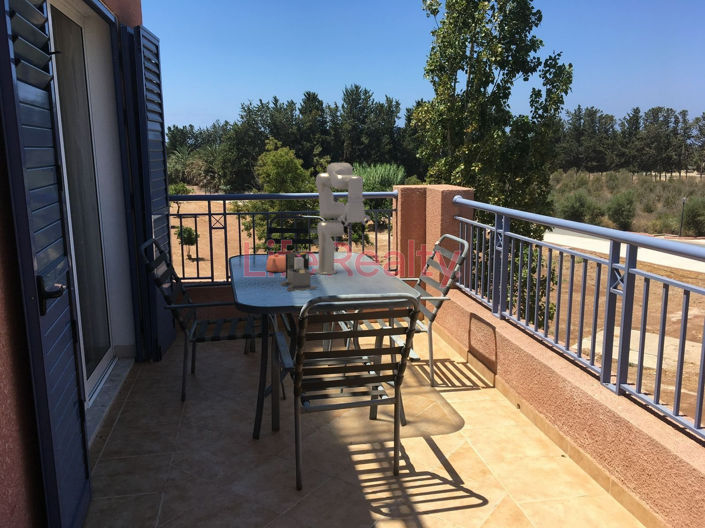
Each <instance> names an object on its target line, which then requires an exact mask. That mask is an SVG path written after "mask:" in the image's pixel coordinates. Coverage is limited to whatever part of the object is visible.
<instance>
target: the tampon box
mask: <svg viewBox="0 0 705 528" xmlns="http://www.w3.org/2000/svg"><path fill="white" fill-rule="evenodd" d="M294 257H302V258H304V268H305V269H307V270H308V271H310V270H309V269H310V268H309V267H310V265H309V264H310V263H309V262H310V260H309V259H310V254H309V253H308V252H302V251H297V250H296V251H293V252H287V253H285V258H286V270H285V279H287V269H294Z"/></svg>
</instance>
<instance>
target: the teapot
mask: <svg viewBox="0 0 705 528" xmlns="http://www.w3.org/2000/svg"><path fill="white" fill-rule="evenodd" d="M265 267H266V271H267V272H271V273H273V272H278V273H282V272H286V255H280V254H279V253H274V254H272V255H269V256H268V257H267V259H266V266H265Z"/></svg>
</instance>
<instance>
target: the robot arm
mask: <svg viewBox="0 0 705 528" xmlns="http://www.w3.org/2000/svg"><path fill="white" fill-rule="evenodd" d="M353 173H354V171H353V166H352V165H351V164H350V163H348V162H332V163H330V164H328V165H327V167H326V172H322V173H321V172H320V173H318V174H317V175H316V178H315V184H316V185H315V186H316V189H317V192H318V201H319V205H318V206H319V207H318V208H319V215H320V217H321V218H323V219H330V220H321V221H319V222H318V223H317V227H316V228H317V234H318V268H317V269H315V272H316V274H320V275H335V274H336V273H337V269H335V247H336V246H335V245H336V244H335V242H334V240H333V239H332V238H331V237H344V235H347V234H348V232H349V231H348V227H349V226H348V224H349V223H360V224H361V225H360V232H361V233H362V234H365V232H366V226H367V224H368V223H369V221H370V219H371V216H369V215H368V214H366V212H365V206H364V203H363V201H366V199H365V197H363V193H364V191H363V187H364V178H363V177H362V176H359V175H358V174H353ZM330 188H335V189H336V190H347V202H346V203H344V202H341V201H334V193H333V191H332V190H331V189H330ZM332 219H337V220H332Z"/></svg>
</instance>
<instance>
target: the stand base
mask: <svg viewBox="0 0 705 528" xmlns="http://www.w3.org/2000/svg"><path fill="white" fill-rule="evenodd" d="M311 273H312V272H311V271H310V270H309V271H308V270H307V269H305V268H304V270H299V272H294V269H287V278H286V279H287V281H280V285H281V286H282V287H283V286H288V287H287V288H286V291H287V290H288V292H296V291H295V290H301V291H307V290H306V289H315V290H317V289H318V286H316V285H311V278H312V277H311ZM316 288H317V289H316Z"/></svg>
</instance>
